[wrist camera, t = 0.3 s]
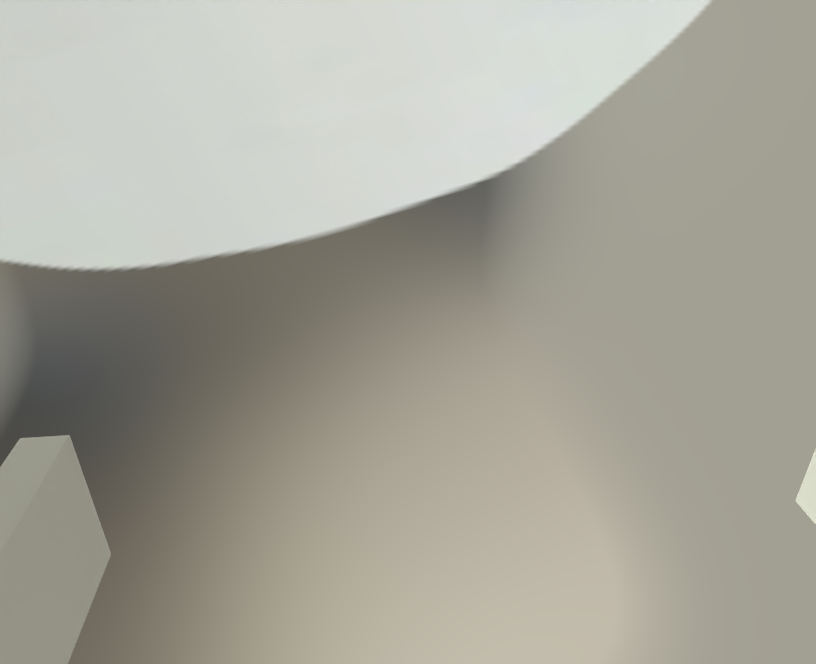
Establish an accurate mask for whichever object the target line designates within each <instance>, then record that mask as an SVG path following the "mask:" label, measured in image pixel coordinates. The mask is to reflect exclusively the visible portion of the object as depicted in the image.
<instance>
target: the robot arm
mask: <svg viewBox="0 0 816 664" xmlns="http://www.w3.org/2000/svg"><path fill="white" fill-rule="evenodd" d="M796 502H797V503H798V504H799V505H800V507H801V508H802V509H803V510H804V511H805V513H806V514H807V515H808V516H809V517H810V518H811V520H812V521H813V522H814V523H815V524H816V450H815V452H814V455H813V457H812V460H811V462H810V465H809V468H808V470H807V473H806V475H805V478H804V480H803V483H802V486H801V488H800V491H799V493H798V496H797V499H796ZM110 555H111V554H110V550H109V547H108V544H107V542H106V539H105V536H104V533H103V530H102V527H101V524H100V522H99V519H98V516H97V513H96V510H95V507H94V505H93V502H92V499H91V496H90V493H89V490H88V487H87V484H86V481H85V479H84V476H83V473H82V470H81V467H80V464H79V462H78V459H77V456H76V453H75V450H74V447H73V445H72V441H71V438H70V436H69V435H65V436H49V437H35V438H21V439H19V441H18V442H17V444H16V445H15V447H14V448H13V449H12V451H11V452H10V454H9V455H8V457H7V458H6V460H5V461H4V463H3V464H2V466H1V467H0V664H68V662H69V659H70V656H71V654H72V651H73V649H74V646H75V644H76V641H77V639H78V636H79V634H80V631H81V628H82V626H83V624H84V621H85V619H86V616H87V614H88V611H89V608H90V606H91V603H92V601H93V598H94V596H95V593H96V590H97V588H98V586H99V583H100V581H101V578H102V576H103V573H104V570H105V568H106V565H107V563H108V560H109V558H110Z"/></svg>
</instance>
